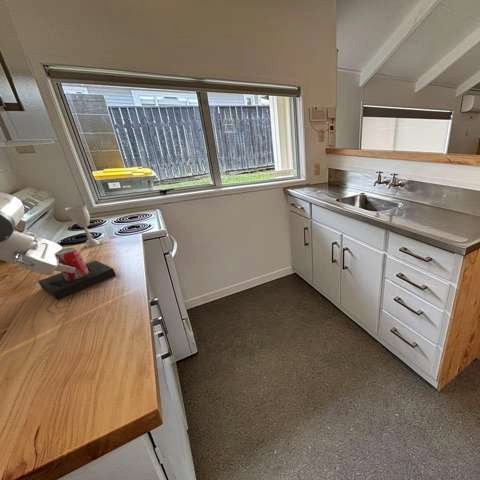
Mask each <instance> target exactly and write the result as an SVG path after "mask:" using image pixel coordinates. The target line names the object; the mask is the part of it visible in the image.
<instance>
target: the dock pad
mask: <svg viewBox="0 0 480 480" xmlns="http://www.w3.org/2000/svg"><path fill="white" fill-rule="evenodd" d="M85 264H86V267H87V269H88V271H89V273H88V274H87V275H85V276H83V277H80V278H77V279H74V280H68V281H66V280H65V278H64V276H63V274H62V272H59V273H56V274H54V275H53V274H52V275H50V276H48V277H45V278H42V279H40V280H38V281H37V283H38V284H39V286H40V288H41V289H42V290H43V291H44V292H46V293H47V294H48V295H50V296H51V297H52V298H54V299H55V300H57V301H60V300H62V299H65V298H67V297H69V296H71V295H74V294H76V293H79V292H81V291H84V290H85V289H88V288H91V287H93V286H95V285H97V284H100V283H102V282H104V281H106V280H109V279H111V278H113V277H116V276H117V274H116V272H115V270H114V268H113V267H111V266H108V265H107V264H105V263H102V262H100V261H98V260H92V261H90V262H87V263H85Z"/></svg>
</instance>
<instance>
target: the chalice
mask: <svg viewBox="0 0 480 480" xmlns="http://www.w3.org/2000/svg"><path fill="white" fill-rule="evenodd" d="M87 207H88V206H87V204H78V205H73V206H68V207H66V208H65V210H66V211H67V213H68V215H69V217H70V219H71V220H72V222H74V224H76V225H77V226H78V227H80V228H83V229H84V232H85V233H86V234H85V236H86V237H87V240H86V241H85V247H86V248H88V247H94V246H97V245H100V241H98V239H96V238H93V237H92V234H91V233H90V229H88V227H89V226H90V220H91V215H90V213H89V210H88V209H87ZM93 244H94V245H93Z"/></svg>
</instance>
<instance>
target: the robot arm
mask: <svg viewBox="0 0 480 480" xmlns="http://www.w3.org/2000/svg"><path fill="white" fill-rule="evenodd" d="M25 211H26V207H25V205H24V203H23V201H22V200H21V199H19V198H18V197H17V196H14V195H13V194H10V193H9V192H8V193H7V192H4V191H0V261H3V262H6V263H10V264H14V265H18V266H19V267H20V268H22V269H25V270H28V271H31V272H34V273H37V274H40V275H44V276H52V275H53V273H54V272H60V273H62V272H69V273H73V272H74V271H75V267H74V266H70V265H69V266H67V265H63V264H61V263H59V257H58V256H56V255H55V253H56V252H57V251H59V250H62V249H63V247H62V246H61V245H60V244H58V243H56V242H54V241H51V240H48V239H46V238H43V237H39V236H37V235H36V234H35V233H33V232H30V231H27V232H20V231H16V230H15V229H16V227H17V225H18V224H19V223H20V221H21V220H22V218H23V217H24V215H25Z"/></svg>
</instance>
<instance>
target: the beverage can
mask: <svg viewBox="0 0 480 480" xmlns="http://www.w3.org/2000/svg"><path fill="white" fill-rule="evenodd" d="M55 255H56V256H58V257H59V263H61V264H63V265H67V266H69V265H70V266H74V267H75V271H74V272H73V273H69V272H61V273H62V274H63V276H64V278H65V280H66V281H68V280H74V279H77V278H80V277H83V276H85V275H87V274H88V273H89V271H88V269H87V267H86V264H87V263H86V262H85V261H84V258H83V256H82V254H81V252H80V251H79V250H78V249H76V247H67V248H66V247H65V248H62V250H59V251H57V252H56V253H55Z"/></svg>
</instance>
